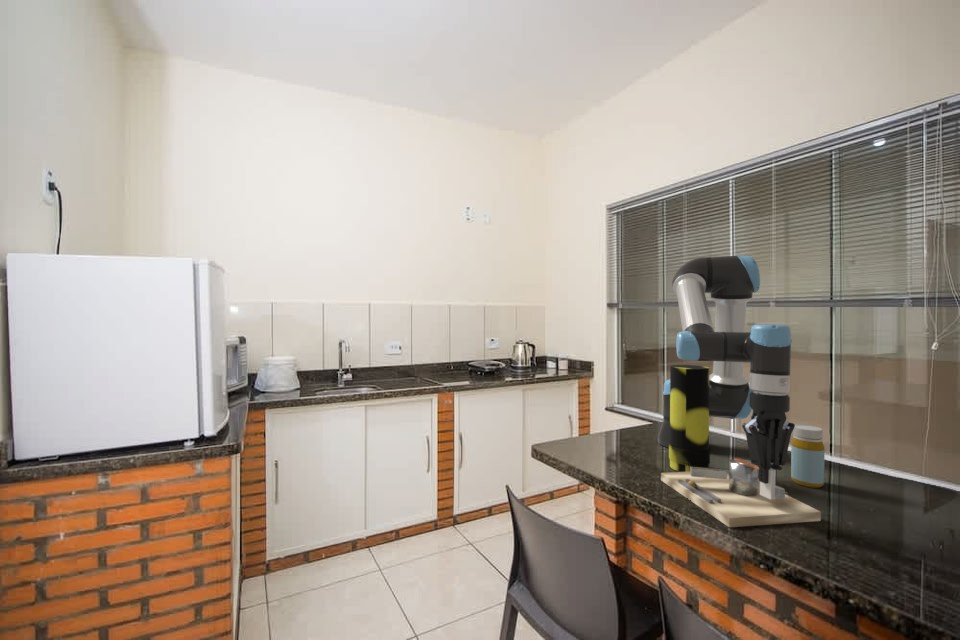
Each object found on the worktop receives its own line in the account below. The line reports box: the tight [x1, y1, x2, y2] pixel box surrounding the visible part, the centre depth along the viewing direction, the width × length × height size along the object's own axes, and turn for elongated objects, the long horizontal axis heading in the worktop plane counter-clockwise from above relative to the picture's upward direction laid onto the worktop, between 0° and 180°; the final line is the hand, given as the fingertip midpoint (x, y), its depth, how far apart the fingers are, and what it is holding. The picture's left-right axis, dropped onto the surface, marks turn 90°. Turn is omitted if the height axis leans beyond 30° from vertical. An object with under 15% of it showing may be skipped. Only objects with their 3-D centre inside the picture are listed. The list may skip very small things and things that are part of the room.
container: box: [668, 364, 711, 472], centre depth 124 cm, size 11×11×30 cm
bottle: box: [790, 424, 825, 489], centre depth 113 cm, size 7×7×15 cm
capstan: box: [690, 457, 786, 498], centre depth 102 cm, size 17×20×7 cm
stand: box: [660, 468, 822, 528], centre depth 104 cm, size 26×23×4 cm
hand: (767, 496), depth 96 cm, fingers closed
